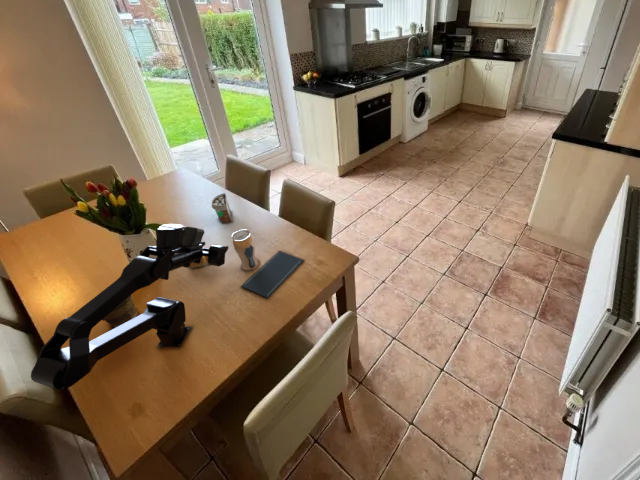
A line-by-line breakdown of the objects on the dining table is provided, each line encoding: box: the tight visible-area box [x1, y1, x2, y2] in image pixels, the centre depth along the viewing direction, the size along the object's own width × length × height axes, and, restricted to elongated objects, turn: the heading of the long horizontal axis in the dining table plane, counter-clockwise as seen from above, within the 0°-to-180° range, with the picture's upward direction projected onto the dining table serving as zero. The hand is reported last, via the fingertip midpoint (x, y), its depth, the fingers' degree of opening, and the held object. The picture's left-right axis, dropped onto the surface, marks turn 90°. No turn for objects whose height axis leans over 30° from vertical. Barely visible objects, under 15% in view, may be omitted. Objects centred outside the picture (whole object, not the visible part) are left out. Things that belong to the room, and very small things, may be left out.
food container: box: [211, 192, 232, 224], centre depth 144 cm, size 12×6×10 cm, turn 25°
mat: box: [241, 250, 304, 299], centre depth 118 cm, size 20×12×1 cm, turn 155°
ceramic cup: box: [101, 294, 138, 328], centre depth 98 cm, size 13×10×10 cm
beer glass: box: [230, 229, 259, 272], centre depth 117 cm, size 7×7×15 cm
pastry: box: [189, 256, 209, 269], centre depth 122 cm, size 9×7×4 cm
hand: (216, 245), depth 108 cm, fingers open, 9 cm apart
